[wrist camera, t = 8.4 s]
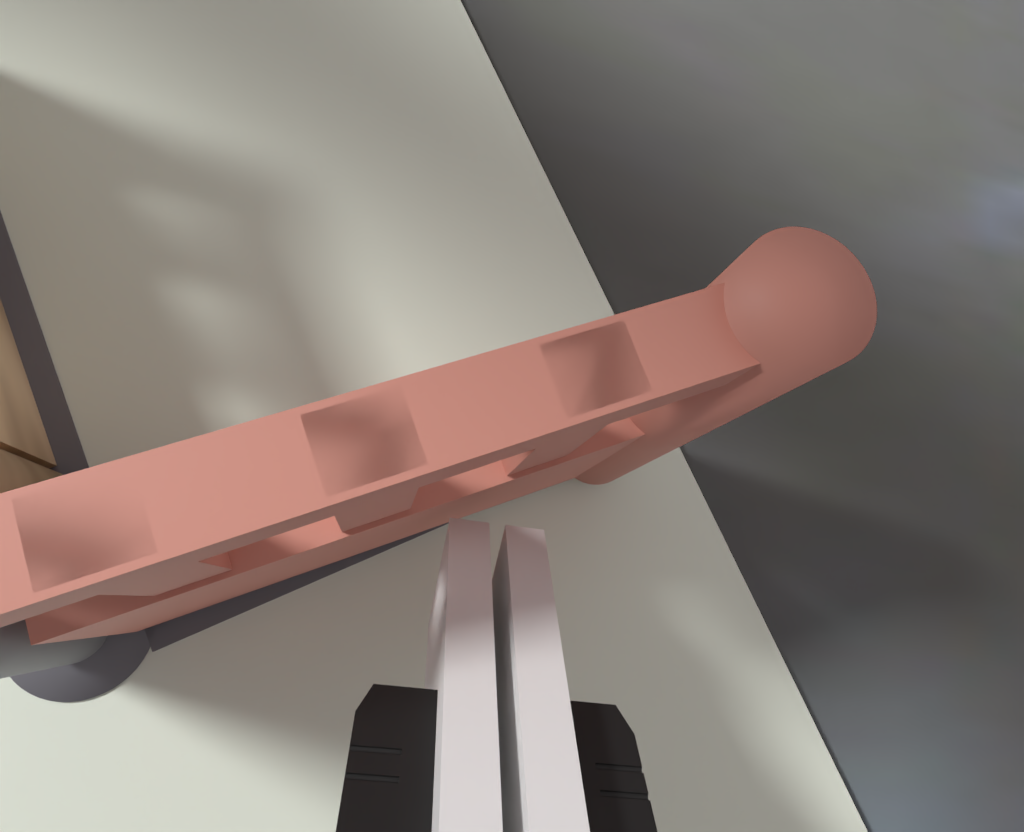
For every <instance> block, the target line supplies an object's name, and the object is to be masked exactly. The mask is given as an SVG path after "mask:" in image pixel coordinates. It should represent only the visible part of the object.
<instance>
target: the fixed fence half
mask: <svg viewBox="0 0 1024 832" xmlns="http://www.w3.org/2000/svg"><path fill="white" fill-rule="evenodd" d="M55 466H57V464H56V461H55V458H54V455H53V452H52V449H51V446H50V443H49V440H48V437H47V435H46V432H45V429H44V426H43V423H42V420H41V417H40V414H39V411H38V408H37V405H36V402H35V399H34V396H33V393H32V390H31V387H30V384H29V381H28V378H27V375H26V372H25V370H24V367H23V364H22V361H21V358H20V355H19V352H18V349H17V346H16V343H15V340H14V337H13V334H12V331H11V328H10V325H9V322H8V319H7V316H6V313H5V310H4V307H3V305H2V302H1V299H0V493H4V492H7V491H11V490H14V489H17V488H21V487H24V486H28V485H31V484H35V483H38V482H41V481H45V480H48V479H52V478H55V477H59V476H62V475H63V474H61V473H59V472H56V471H54V470H51V469H49V468H52V467H55Z"/></svg>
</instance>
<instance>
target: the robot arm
mask: <svg viewBox="0 0 1024 832" xmlns="http://www.w3.org/2000/svg"><path fill="white" fill-rule="evenodd" d="M336 832H657V827H656V823H655V819H654V815H653V810H652V806H651V802H650V800H648V789H647V785H646V781H645V776H644V773H642V764H641V759H640V755H639V751H638V747H637V742H636V738H635V734H634V732H633V731H632V729H631V728H630V726H629V725H628V723H627V722H626V720H625V719H624V717H623V715H622V714H621V712H620V711H619V709H618V708H617V706H616V705H612V704H602V703H591V702H581V701H570V697H569V690H568V684H567V677H566V671H565V664H564V658H563V651H562V644H561V638H560V631H559V625H558V618H557V612H556V605H555V598H554V592H553V585H552V579H551V572H550V566H549V559H548V552H547V546H546V539H545V533H544V530H542V529H534V528H527V527H519V526H511V525H505V529H504V533H503V537H502V541H501V545H500V549H499V553H498V557H497V561H496V565H495V569H494V573H493V577H492V575H491V552H490V530H489V523H488V522H480V521H472V520H465V519H457V518H450V519H449V524H448V529H447V534H446V539H445V544H444V549H443V554H442V559H441V564H440V569H439V574H438V579H437V584H436V589H435V594H434V599H433V604H432V609H431V614H430V619H429V626H428V642H427V657H426V673H425V688H424V689H423V688H413V687H402V686H392V685H381V684H373V685H372V687H371V688H370V690H369V691H368V693H367V694H366V696H365V697H364V699H363V700H362V702H361V703H360V705H359V706H358V708H357V709H356V711H355V716H354V722H353V728H352V734H351V740H350V747H349V753H348V759H347V765H346V771H345V778H344V784H343V790H342V796H341V802H340V808H339V814H338V820H337V827H336Z"/></svg>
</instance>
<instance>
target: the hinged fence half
mask: <svg viewBox="0 0 1024 832" xmlns="http://www.w3.org/2000/svg"><path fill="white" fill-rule="evenodd" d="M876 319H877V302H876V296H875V292H874V289H873V285H872V283H871V281H870V278H869V276H868V274H867V272H866V271H865V269H864V267H863V266H862V264H861V263H860V262H859V260H858V259H857V258H856V257H855V256H854V254H853V253H852V252H851V251H850V250H848V249H847V248H846V247H845V246H844V245H843V244H841V243H840V242H839V241H837V240H836V239H834V238H832V237H831V236H829V235H827V234H824V233H822V232H820V231H817V230H814V229H810V228H805V227H784V228H779V229H775V230H773V231H770V232H768V233H766V234H764V235H762V236H761V237H760V238H758V239H757V240H756V241H755V242H754V243H753V244H752V245H751V246H750V247H748V248H747V249H746V250H745V251H744V252H743V253H742V254H741V255H740V256H739V257H738V258H737V259H736V260H735V261H734V262H733V263H732V264H730V265H729V266H728V267H727V268H726V269H725V270H724V271H723V272H722V273H721V274H720V275H719V276H718V277H717V278H716V279H715V280H714V281H713V282H711V283H710V284H709V285H708V286H707V287H706V288H705V289H702V290H698V291H695V292H691V293H688V294H684V295H681V296H677V297H674V298H671V299H667V300H664V301H660V302H657V303H653V304H650V305H647V306H643V307H640V308H636V309H633V310H629V311H626V312H622V313H619V314H616V315H612V316H609V317H605V318H602V319H598V320H595V321H592V322H588V323H585V324H581V325H578V326H574V327H571V328H567V329H564V330H561V331H557V332H554V333H550V334H547V335H543V336H540V337H537V338H533V339H530V340H526V341H523V342H519V343H516V344H512V345H509V346H506V347H502V348H499V349H495V350H492V351H488V352H485V353H482V354H478V355H475V356H471V357H468V358H464V359H461V360H457V361H454V362H451V363H447V364H444V365H440V366H437V367H433V368H430V369H427V370H423V371H420V372H416V373H413V374H409V375H406V376H402V377H399V378H396V379H392V380H389V381H385V382H382V383H378V384H375V385H372V386H368V387H365V388H361V389H358V390H354V391H351V392H347V393H344V394H341V395H337V396H334V397H330V398H327V399H323V400H320V401H317V402H313V403H310V404H306V405H303V406H299V407H296V408H292V409H289V410H286V411H282V412H279V413H275V414H272V415H268V416H265V417H261V418H258V419H255V420H251V421H248V422H244V423H241V424H237V425H234V426H231V427H227V428H224V429H220V430H217V431H213V432H210V433H206V434H203V435H200V436H196V437H193V438H189V439H186V440H182V441H179V442H176V443H172V444H169V445H165V446H162V447H158V448H155V449H151V450H148V451H145V452H141V453H138V454H134V455H131V456H127V457H124V458H121V459H117V460H114V461H110V462H107V463H103V464H100V465H96V466H93V467H90V468H86V469H83V470H79V471H76V472H72V473H69V474H66V475H62V476H59V477H55V478H52V479H48V480H45V481H41V482H38V483H35V484H31V485H28V486H24V487H21V488H17V489H14V490H11V491H7V492H4V493H0V679H1V678H6V677H11V676H16V675H21V674H26V673H30V672H35V671H40V670H45V669H50V668H55V667H59V666H64V665H69V664H74V663H77V662H80V661H83V660H85V659H87V658H88V657H90V656H91V655H93V654H94V653H95V652H96V651H97V650H98V649H99V648H100V647H101V646H102V645H103V643H104V642H105V640H106V638H107V636H108V635H116V634H124V633H131V632H137V631H140V630H143V629H146V628H149V627H152V626H155V625H157V624H160V623H163V622H166V621H169V620H172V619H174V618H177V617H180V616H183V615H186V614H189V613H192V612H194V611H197V610H200V609H203V608H206V607H209V606H211V605H214V604H217V603H220V602H223V601H226V600H229V599H231V598H234V597H237V596H240V595H243V594H246V593H248V592H251V591H254V590H257V589H260V588H263V587H266V586H268V585H271V584H274V583H277V582H280V581H283V580H285V579H288V578H291V577H294V576H297V575H300V574H303V573H305V572H308V571H311V570H314V569H317V568H320V567H322V566H325V565H328V564H331V563H334V562H337V561H340V560H342V559H345V558H348V557H351V556H354V555H357V554H359V553H362V552H365V551H368V550H371V549H374V548H377V547H379V546H382V545H385V544H388V543H391V542H394V541H396V540H399V539H402V538H405V537H408V536H411V535H414V534H416V533H419V532H422V531H425V530H428V529H431V528H433V527H436V526H439V525H442V524H445V523H448V522H449V519H450V518H457V519H459V518H462V517H465V516H468V515H470V514H473V513H476V512H479V511H482V510H485V509H488V508H490V507H493V506H496V505H499V504H502V503H505V502H507V501H510V500H513V499H516V498H519V497H522V496H525V495H527V494H530V493H533V492H536V491H539V490H542V489H545V488H547V487H550V486H553V485H556V484H559V483H562V482H564V481H567V480H570V479H573V478H575V479H577V480H579V481H581V482H584V483H587V484H593V485H600V484H605V483H609V482H611V481H613V480H615V479H617V478H619V477H621V476H623V475H625V474H627V473H629V472H631V471H633V470H635V469H637V468H639V467H641V466H643V465H645V464H647V463H649V462H651V461H653V460H655V459H657V458H658V457H660V456H662V455H664V454H666V453H668V452H670V451H672V450H674V449H676V448H678V447H680V446H682V445H684V444H686V443H688V442H690V441H692V440H694V439H696V438H698V437H700V436H702V435H704V434H706V433H708V432H710V431H712V430H714V429H716V428H718V427H720V426H722V425H724V424H726V423H728V422H730V421H732V420H734V419H736V418H738V417H740V416H741V415H743V414H745V413H747V412H749V411H751V410H753V409H755V408H757V407H759V406H761V405H763V404H765V403H767V402H769V401H771V400H773V399H775V398H777V397H779V396H781V395H783V394H785V393H787V392H789V391H791V390H793V389H795V388H797V387H799V386H801V385H803V384H805V383H807V382H809V381H811V380H813V379H815V378H817V377H819V376H821V375H823V374H824V373H826V372H828V371H830V370H832V369H834V368H836V367H838V366H840V365H842V364H844V363H846V362H848V361H850V360H851V359H853V358H855V357H856V356H857V355H858V354H859V353H861V352H862V351H863V349H864V348H865V347H866V346H867V344H868V342H869V341H870V339H871V337H872V335H873V332H874V329H875V325H876Z"/></svg>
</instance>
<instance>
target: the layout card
mask: <svg viewBox="0 0 1024 832" xmlns="http://www.w3.org/2000/svg"><path fill="white" fill-rule="evenodd" d="M0 299H1V302H2V305H3V307H4V310H5V313H6V316H7V319H8V322H9V325H10V328H11V331H12V334H13V337H14V340H15V343H16V346H17V349H18V352H19V355H20V358H21V361H22V364H23V367H24V370H25V372H26V375H27V378H28V381H29V384H30V387H31V390H32V393H33V396H34V399H35V402H36V405H37V408H38V411H39V414H40V417H41V420H42V423H43V426H44V429H45V432H46V435H47V437H48V440H49V443H50V446H51V449H52V452H53V455H54V458H55V461H56V464H57V466H55V467H52V468H49V469H51V470H54V471H56V472H59V473H61V474H63V475H66V474H69V473H72V472H76V471H79V470H83V469H86V468H90V467H93V466H96V465H100V464H103V463H107V462H110V461H114V460H117V459H121V458H124V457H127V456H131V455H134V454H138V453H141V452H145V451H148V450H151V449H155V448H158V447H162V446H165V445H169V444H172V443H176V442H179V441H182V440H186V439H189V438H193V437H196V436H200V435H203V434H206V433H210V432H213V431H217V430H220V429H224V428H227V427H231V426H234V425H237V424H241V423H244V422H248V421H251V420H255V419H258V418H261V417H265V416H268V415H272V414H275V413H279V412H282V411H286V410H289V409H292V408H296V407H299V406H303V405H306V404H310V403H313V402H317V401H320V400H323V399H327V398H330V397H334V396H337V395H341V394H344V393H347V392H351V391H354V390H358V389H361V388H365V387H368V386H372V385H375V384H378V383H382V382H385V381H389V380H392V379H396V378H399V377H402V376H406V375H409V374H413V373H416V372H420V371H423V370H427V369H430V368H433V367H437V366H440V365H444V364H447V363H451V362H454V361H457V360H461V359H464V358H468V357H471V356H475V355H478V354H482V353H485V352H488V351H492V350H495V349H499V348H502V347H506V346H509V345H512V344H516V343H519V342H523V341H526V340H530V339H533V338H537V337H540V336H543V335H547V334H550V333H554V332H557V331H561V330H564V329H567V328H571V327H574V326H578V325H581V324H585V323H588V322H592V321H595V320H598V319H602V318H605V317H609V316H612V315H614V313H613V311H612V309H611V307H610V304H609V302H608V300H607V298H606V296H605V294H604V292H603V290H602V288H601V286H600V284H599V282H598V280H597V278H596V276H595V274H594V272H593V270H592V268H591V266H590V264H589V262H588V260H587V258H586V255H585V253H584V251H583V249H582V247H581V245H580V243H579V241H578V239H577V237H576V235H575V233H574V231H573V229H572V227H571V225H570V223H569V221H568V219H567V217H566V215H565V213H564V211H563V209H562V206H561V204H560V202H559V200H558V198H557V196H556V194H555V192H554V190H553V188H552V186H551V184H550V182H549V180H548V178H547V176H546V174H545V172H544V170H543V168H542V166H541V164H540V162H539V160H538V157H537V155H536V153H535V151H534V149H533V147H532V145H531V143H530V141H529V139H528V137H527V135H526V133H525V131H524V129H523V127H522V125H521V123H520V121H519V119H518V117H517V115H516V113H515V111H514V108H513V106H512V104H511V102H510V100H509V98H508V96H507V94H506V92H505V90H504V88H503V86H502V84H501V82H500V80H499V78H498V76H497V74H496V72H495V70H494V68H493V66H492V64H491V62H490V59H489V57H488V55H487V53H486V51H485V49H484V47H483V45H482V43H481V41H480V39H479V37H478V35H477V33H476V31H475V29H474V27H473V25H472V23H471V21H470V19H469V17H468V15H467V13H466V10H465V8H464V6H463V4H462V2H461V0H0ZM459 519H465V520H472V521H480V522H488V523H489V530H490V552H491V575H492V577H493V573H494V569H495V565H496V561H497V557H498V553H499V549H500V545H501V541H502V537H503V533H504V529H505V525H511V526H519V527H527V528H534V529H542V530H544V533H545V539H546V546H547V552H548V559H549V566H550V572H551V579H552V585H553V592H554V598H555V605H556V612H557V618H558V625H559V631H560V638H561V644H562V651H563V658H564V664H565V671H566V677H567V684H568V690H569V697H570V701H581V702H591V703H602V704H612V705H616V706H617V708H618V709H619V711H620V712H621V714H622V715H623V717H624V719H625V720H626V722H627V723H628V725H629V726H630V728H631V729H632V731H633V732H634V734H635V738H636V742H637V747H638V751H639V755H640V759H641V764H642V773H644V776H645V781H646V785H647V789H648V800H650V802H651V806H652V810H653V815H654V819H655V823H656V827H657V832H868V831H867V829H866V827H865V825H864V823H863V821H862V819H861V817H860V815H859V813H858V811H857V809H856V807H855V805H854V803H853V801H852V799H851V797H850V795H849V793H848V790H847V788H846V786H845V784H844V782H843V780H842V778H841V776H840V774H839V772H838V770H837V768H836V766H835V764H834V762H833V760H832V758H831V756H830V754H829V752H828V750H827V748H826V746H825V744H824V741H823V739H822V737H821V735H820V733H819V731H818V729H817V727H816V725H815V723H814V721H813V719H812V717H811V715H810V713H809V711H808V709H807V707H806V705H805V703H804V701H803V699H802V697H801V695H800V692H799V690H798V688H797V686H796V684H795V682H794V680H793V678H792V676H791V674H790V672H789V670H788V668H787V666H786V664H785V662H784V660H783V658H782V656H781V654H780V652H779V650H778V648H777V645H776V643H775V641H774V639H773V637H772V635H771V633H770V631H769V629H768V627H767V625H766V623H765V621H764V619H763V617H762V615H761V613H760V611H759V609H758V607H757V605H756V603H755V601H754V599H753V596H752V594H751V592H750V590H749V588H748V586H747V584H746V582H745V580H744V578H743V576H742V574H741V572H740V570H739V568H738V566H737V564H736V562H735V560H734V558H733V556H732V554H731V552H730V550H729V547H728V545H727V543H726V541H725V539H724V537H723V535H722V533H721V531H720V529H719V527H718V525H717V523H716V521H715V519H714V517H713V515H712V513H711V511H710V509H709V507H708V505H707V503H706V501H705V498H704V496H703V494H702V492H701V490H700V488H699V486H698V484H697V482H696V480H695V478H694V476H693V474H692V472H691V470H690V468H689V466H688V464H687V462H686V460H685V458H684V456H683V454H682V452H681V449H680V447H678V448H676V449H674V450H672V451H670V452H668V453H666V454H664V455H662V456H660V457H658V458H657V459H655V460H653V461H651V462H649V463H647V464H645V465H643V466H641V467H639V468H637V469H635V470H633V471H631V472H629V473H627V474H625V475H623V476H621V477H619V478H617V479H615V480H613V481H611V482H609V483H605V484H600V485H593V484H587V483H584V482H581V481H579V480H577V479H575V478H573V479H570V480H567V481H564V482H562V483H559V484H556V485H553V486H550V487H547V488H545V489H542V490H539V491H536V492H533V493H530V494H527V495H525V496H522V497H519V498H516V499H513V500H510V501H507V502H505V503H502V504H499V505H496V506H493V507H490V508H488V509H485V510H482V511H479V512H476V513H473V514H470V515H468V516H465V517H462V518H459ZM448 524H449V522H448V523H445V524H442V525H439V526H436V527H433V528H431V529H428V530H425V531H422V532H419V533H416V534H414V535H411V536H408V537H405V538H402V539H399V540H396V541H394V542H391V543H388V544H385V545H382V546H379V547H377V548H374V549H371V550H368V551H365V552H362V553H359V554H357V555H354V556H351V557H348V558H345V559H342V560H340V561H337V562H334V563H331V564H328V565H325V566H322V567H320V568H317V569H314V570H311V571H308V572H305V573H303V574H300V575H297V576H294V577H291V578H288V579H285V580H283V581H280V582H277V583H274V584H271V585H268V586H266V587H263V588H260V589H257V590H254V591H251V592H248V593H246V594H243V595H240V596H237V597H234V598H231V599H229V600H226V601H223V602H220V603H217V604H214V605H211V606H209V607H206V608H203V609H200V610H197V611H194V612H192V613H189V614H186V615H183V616H180V617H177V618H174V619H172V620H169V621H166V622H163V623H160V624H157V625H155V626H152V627H149V628H146V629H143V630H140V631H137V632H131V633H124V634H116V635H108V636H107V638H106V640H105V642H104V643H103V645H102V646H101V647H100V648H99V649H98V650H97V651H96V652H95V653H94V654H93V655H91V656H90V657H88V658H87V659H85V660H83V661H80V662H77V663H74V664H69V665H64V666H59V667H55V668H50V669H45V670H40V671H35V672H30V673H26V674H21V675H16V676H11V677H6V678H1V679H0V832H336V827H337V820H338V814H339V808H340V802H341V796H342V790H343V784H344V778H345V771H346V765H347V759H348V753H349V747H350V740H351V734H352V728H353V722H354V716H355V711H356V709H357V708H358V706H359V705H360V703H361V702H362V700H363V699H364V697H365V696H366V694H367V693H368V691H369V690H370V688H371V687H372V685H373V684H381V685H392V686H402V687H413V688H423V689H424V688H425V673H426V657H427V642H428V626H429V619H430V614H431V609H432V604H433V599H434V594H435V589H436V584H437V579H438V574H439V569H440V564H441V559H442V554H443V549H444V544H445V539H446V534H447V529H448Z"/></svg>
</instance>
